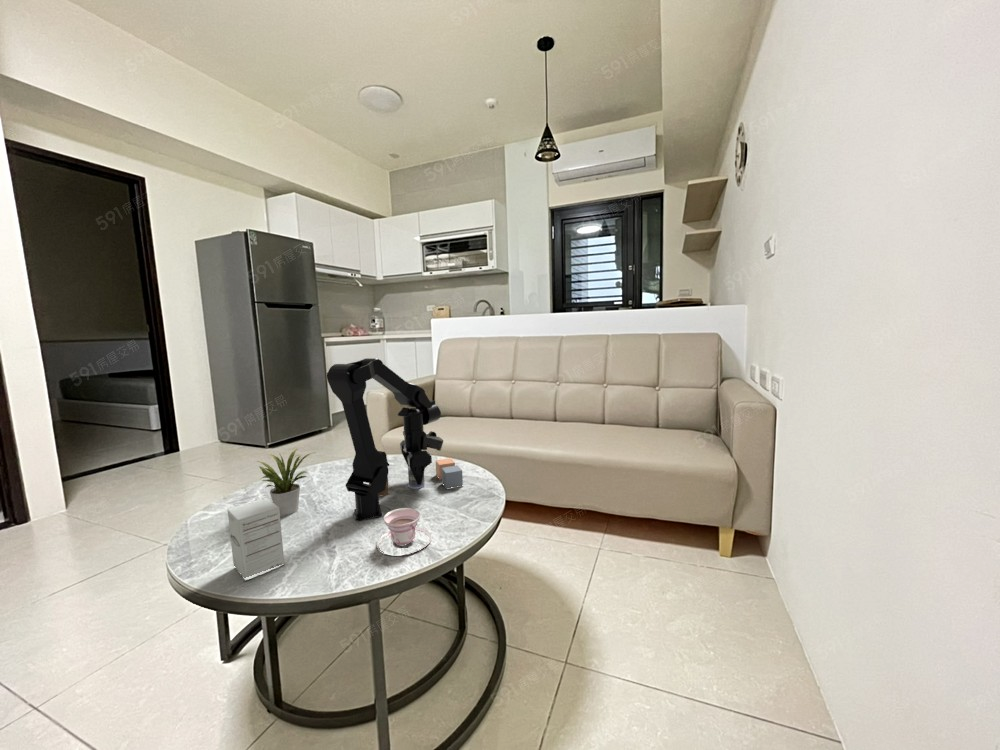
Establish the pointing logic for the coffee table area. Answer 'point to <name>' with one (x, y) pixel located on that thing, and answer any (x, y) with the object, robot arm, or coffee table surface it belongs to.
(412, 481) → the pill bottle
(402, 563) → the coffee table surface
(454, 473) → the slate-grey block
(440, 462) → the terracotta block
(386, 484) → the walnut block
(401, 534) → the teacup
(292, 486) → the house plant
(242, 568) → the supplement box
